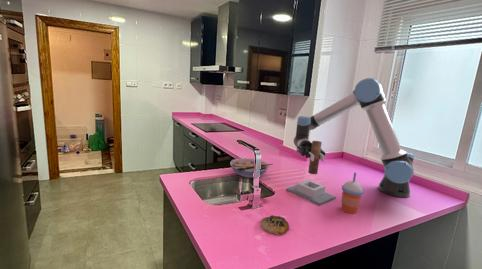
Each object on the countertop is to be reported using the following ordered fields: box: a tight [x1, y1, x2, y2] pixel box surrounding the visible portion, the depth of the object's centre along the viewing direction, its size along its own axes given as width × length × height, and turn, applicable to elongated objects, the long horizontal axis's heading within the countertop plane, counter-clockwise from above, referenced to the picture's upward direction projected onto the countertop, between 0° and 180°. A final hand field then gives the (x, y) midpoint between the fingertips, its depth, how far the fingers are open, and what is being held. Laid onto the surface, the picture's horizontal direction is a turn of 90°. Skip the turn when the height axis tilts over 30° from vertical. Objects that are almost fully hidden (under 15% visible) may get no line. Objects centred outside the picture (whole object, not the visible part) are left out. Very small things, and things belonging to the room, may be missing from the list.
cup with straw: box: [341, 172, 365, 214], centre depth 113 cm, size 9×9×18 cm
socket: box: [285, 179, 336, 207], centre depth 128 cm, size 20×14×5 cm
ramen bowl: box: [229, 157, 273, 179], centre depth 147 cm, size 25×23×8 cm
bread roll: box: [259, 214, 290, 236], centre depth 96 cm, size 11×11×5 cm
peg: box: [308, 140, 323, 175], centre depth 125 cm, size 4×4×16 cm
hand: (318, 158), depth 119 cm, fingers closed on peg, 4 cm apart
